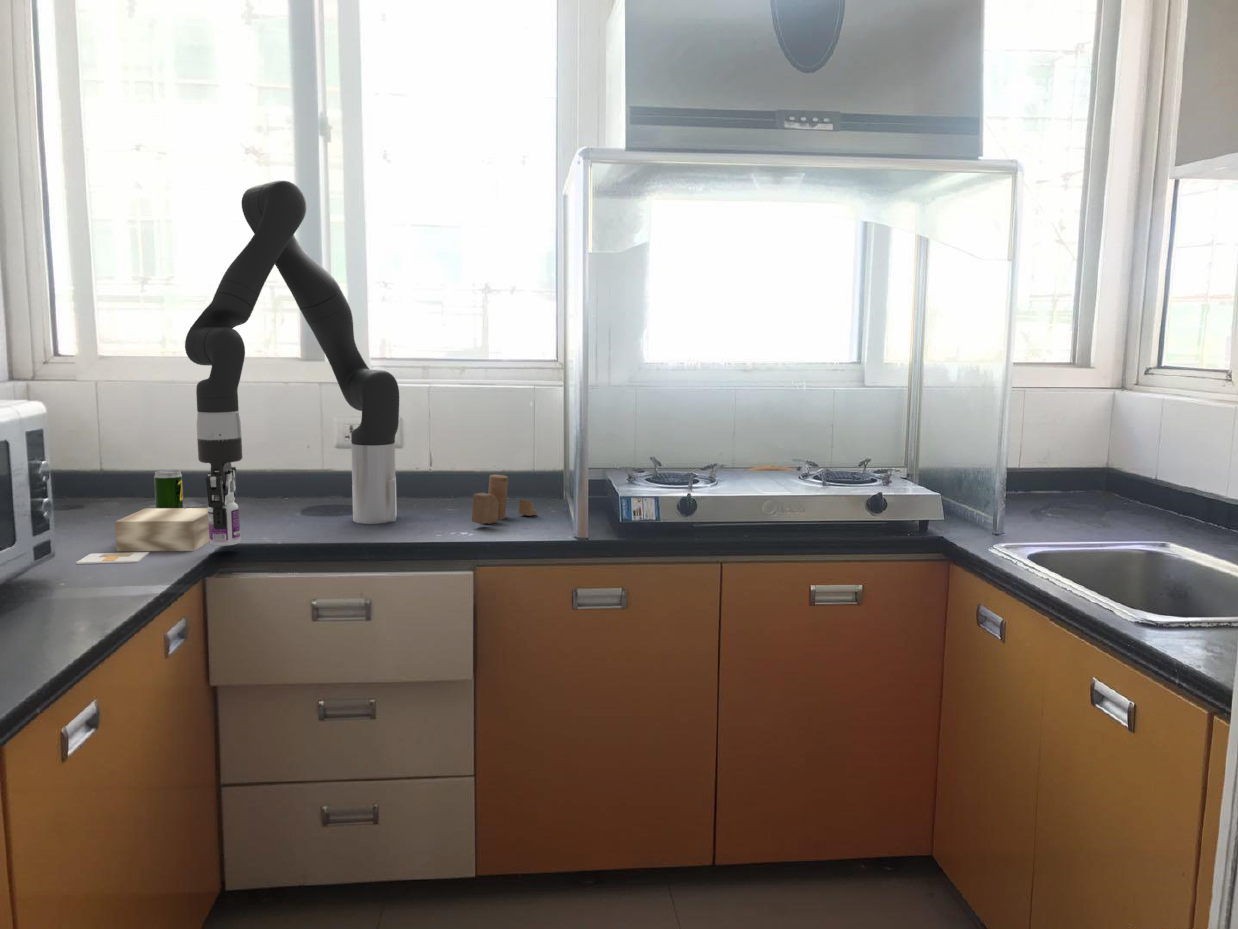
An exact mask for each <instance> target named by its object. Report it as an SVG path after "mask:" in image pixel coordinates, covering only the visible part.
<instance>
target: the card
mask: <svg viewBox="0 0 1238 929" xmlns="http://www.w3.org/2000/svg"><path fill="white" fill-rule="evenodd" d="M148 555H150V551H133V552H105V553H103V552H102V553H99V552H97V553H96V552H95V553H89V554H88V555H86V556H85V557H82V558H81V559H80V560H77V561H76V562H75V565H89V564H91V565H92V564H125V563H126V564H127V563H129V564H130V563H138V562H141V560H143V559H144V558H146V557H148Z"/></svg>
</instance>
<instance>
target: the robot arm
mask: <svg viewBox="0 0 1238 929" xmlns="http://www.w3.org/2000/svg"><path fill="white" fill-rule="evenodd" d="M241 210H242V213H243V216H244V218H245V221H246V223H247V224H248V226H249V228H250V229H251V231H252V232H253V236H252V237H251V239H250V240H249V242H248V243H247V244H246V246H245V247H244V248H243V249H242V250H241V251H240V253H238V255H237V256H236V258H235V259H233V261H232V262H231V263H230V265H229V267H227V269H226V271H225V272H224V273H223V276H222V278H221V280H220V282H219V284H218V286H217V288H216V291H215V293H214V295H213V298H212V300H211V302H210V303H209V304H208V306H206V308H205V309H204V310H203V311H202V312H201V313H200V315H199V316H198V318H197V319H196V320H195V321H194V323H193V324H192V325H191V326H190V328H189V330H188V332H187V333H186V336H185V341H184V350H185V353H186V356H187V357H188V359H189V360H190V361H191V362H193V363H194V364H196V365H200V366H211V369H210V373H209V376H208V378H205V379H202V380H200V381H198V383H197V385H196V387H195V388H196V391H195V393H196V410H197V412H196V413H197V414H196V438H197V454H198V455H197V458H198V461H199V462H200V463H203V464H210V471H209V472H208V473H207V475H206V476H205V478H204V479H205V484H206V494H207V505H208V506H207V507H211V509H213V524H214V528H215V529H225V528H226V527H227V512H226V507H227V497H228V496H229V495H230V492H233V493H234V500H233V502H235V500H236V498H237V467H236V466H232V463H237V462H240V461H242V459H243V445H242V444H243V442H242V441H243V440H242V425H241V423H242V422H241V416H240V413H239V409H240V408H239V395H238V390H239V384H240V382H241V376H242V373H243V367H244V363H245V356H246V347H245V342H244V339H243V337H242V335H240V333H239V332H238V331H237V330H236V329H234V328H236V327H239V326H241V325H244V324H245V323H247V322H248V320H249V319H250V317H251V315H252V313H253V311H254V308H255V306H256V304H257V301H258V299H259V297H260V295H261V292H262V290H263V287H264V285H265V283H266V281H267V279H268V277H269V275H270V274H271V273H272V270H273V268H274V266H276V268H277V271H278V272H279V274H280V275H281V278H282V279H283V280H284V283H285V284H286V286H287V288H288V289H289V292H290V293H291V295H292V296H293V298H294V301H295V302H296V305H297V307H298V308H299V310H300V312H301V314H302V316H303V317H304V319H305V321H306V323H307V324H308V326H309V328H310V330H311V331H312V333H313V335H314V336H315V339H316V340H317V343H318V344H319V346H320V347H321V350H322V351H323V353H324V355H325V356H326V359H327V361H328V362H329V365H330V367H331V369H332V372H333V374H334V376H335V379H336V381H337V384H338V386H339V388H340V391H341V393H342V395H343V398H344V399H345V401H346V402H347V404H348V405H349V406H350V407H351V408H352V409H354V410H356V411H359V412H361V421H360V424H359V425H358V426H357V427H356V428H355V429H353V430H352V431H351V436H350V438H351V440H350V442H351V444H350V445H351V446H350V447H351V449H350V450H351V482H352V483H351V487H352V488H351V491H352V521H353V522H354V523H357V524H364V525H373V524H374V525H376V524H377V525H378V524H387V523H391V522H392V523H393V522H396V521H397V514H398V513H397V476H396V435H397V432H398V430H399V422H400V421H399V419H400V418H399V417H400V391H399V390H400V389H399V384H398V382H397V379H396V378H395V376H394V375H393V374H392V373H390V372H388V371H386V370H381V369H370V368H369V366H368V365H367V364H366V361H365V360H364V358H363V357H362V355H361V353H360V351H359V350H358V347H357V344H356V340H355V335H354V332H355V331H354V319H353V313H352V309H351V307H350V304H349V303H348V301H347V299H346V297H345V295H344V293H343V291H342V289H341V287H340V286H339V284H338V282H337V281H336V279H335V278H334V277H333V276H332V275H331V274H330V273H329V271H327V270H326V269H325V268H324V267H323V266H322V265H321V264H320V263H319V262H317V261H316V260H315V259H314V258H313V257H312V256H310V254H309V253H307V252H306V250H304V249H303V247H302V246H301V245H300V243H299V241H298V240H297V238H296V236H295V233H296V232H297V230H298V229H299V227H300V226H301V224H302V222H303V221H304V219H305V216H306V213H307V201H306V197H305V195H304V193H303V192H302V190H301V189H300V188H299V187H298V185H296V184H295V183H294V182H291V181H288V180H275V181H269V182H267V183H262V184H259V185H255V186H252V187H250V188H248V189H247V190H245V191H244V193H243V194H242V197H241ZM216 497H219V499H220V501H215V499H216Z"/></svg>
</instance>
